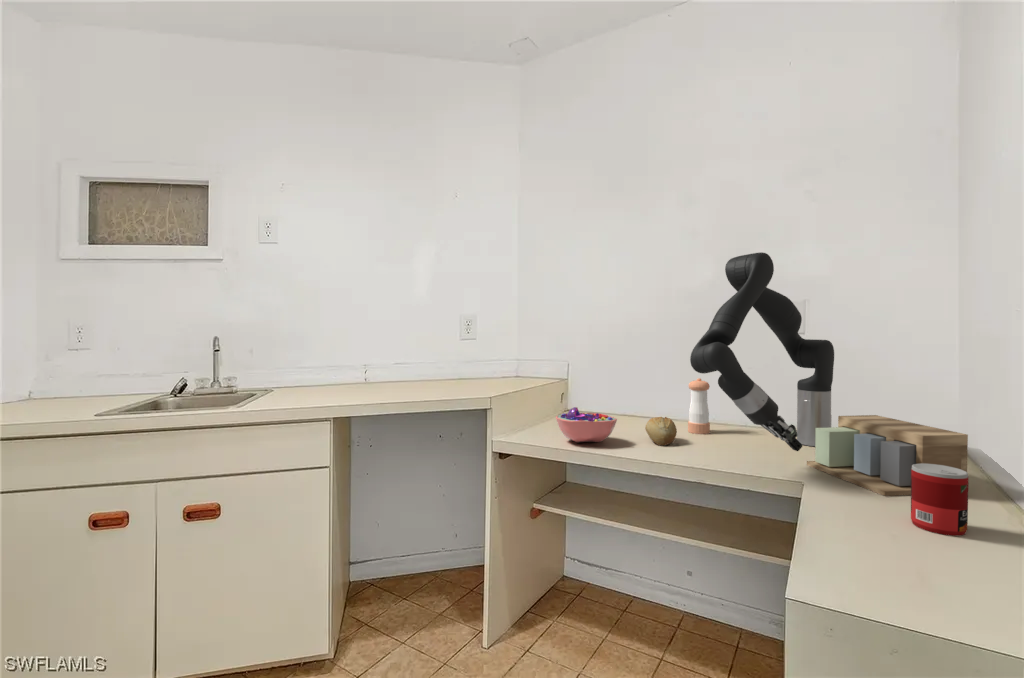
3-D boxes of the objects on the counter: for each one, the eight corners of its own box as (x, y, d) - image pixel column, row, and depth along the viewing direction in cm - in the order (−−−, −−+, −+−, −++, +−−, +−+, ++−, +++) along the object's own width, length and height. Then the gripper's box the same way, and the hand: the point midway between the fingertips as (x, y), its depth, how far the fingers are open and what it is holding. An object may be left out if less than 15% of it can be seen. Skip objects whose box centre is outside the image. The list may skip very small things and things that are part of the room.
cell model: (612, 450, 150) (612, 413, 150) (549, 445, 157) (549, 410, 157) (620, 438, 166) (620, 405, 165) (562, 434, 173) (562, 402, 172)
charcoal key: (880, 479, 116) (880, 441, 116) (919, 477, 117) (919, 440, 117) (899, 486, 111) (899, 446, 111) (939, 484, 112) (940, 445, 112)
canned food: (972, 540, 86) (973, 477, 86) (913, 530, 90) (914, 470, 90) (961, 525, 93) (962, 467, 92) (907, 516, 97) (908, 461, 97)
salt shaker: (713, 434, 172) (713, 379, 172) (692, 434, 172) (692, 379, 172) (705, 429, 179) (705, 377, 179) (685, 429, 179) (685, 377, 179)
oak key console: (806, 464, 133) (807, 416, 133) (875, 462, 135) (875, 415, 135) (884, 495, 109) (885, 436, 108) (966, 492, 111) (967, 434, 110)
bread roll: (670, 436, 169) (670, 413, 169) (681, 447, 154) (681, 421, 154) (641, 436, 170) (641, 413, 170) (650, 446, 155) (650, 421, 155)
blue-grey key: (853, 469, 124) (854, 433, 124) (890, 468, 125) (890, 433, 125) (870, 475, 119) (870, 438, 119) (908, 474, 120) (908, 437, 120)
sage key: (815, 461, 132) (815, 427, 131) (850, 460, 132) (850, 427, 132) (829, 466, 127) (829, 431, 126) (865, 465, 127) (865, 430, 127)
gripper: (780, 395, 121) (826, 443, 122) (749, 388, 134) (791, 432, 135) (759, 417, 120) (806, 465, 122) (730, 408, 133) (773, 452, 135)
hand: (798, 448), depth 128 cm, fingers closed
